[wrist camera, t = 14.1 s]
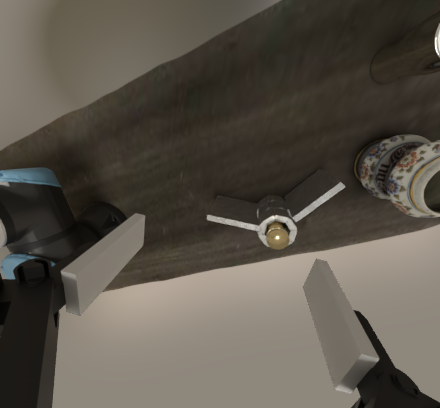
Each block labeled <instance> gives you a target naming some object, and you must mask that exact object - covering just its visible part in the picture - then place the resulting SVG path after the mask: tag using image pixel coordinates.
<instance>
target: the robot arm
mask: <svg viewBox="0 0 440 408" xmlns="http://www.w3.org/2000/svg"><path fill="white" fill-rule="evenodd" d="M61 188H62V186H61V185H60V184H59V182H58V180H57V178H56V176H55V174H54V173H53V171H51V170H50V169H47V168H24V169H11V170H2V171H0V248H2V247H4V246H7V248H8V249H9V251H10V253H11V254H10V255H8V256H6V257H5V258H4V259H3V260H2V262H1V271H2V273H3V275H4V276H5V277H6V278H7V279H2V277H1V274H0V408H52V400H53V388H54V376H55V364H56V352H57V338H58V327H59V310H60V309H61V308H62V307H63V306H64V305H65V304H66V311H67V312H69V313H72V314H76V315H79V316H81V314H82V313H83V312H84V311H85V310H86V309H87V308H88V307H89V305H90V304H91V303H92V302H93V301H94V300H95V299H96V298H97V297H98V295H99V294H100V293H101V292H102V291H103V290H104V289H105V288H106V286H107V285H108V284H109V283H110V282H111V281H112V280H113V279H114V277H115V276H116V275H117V274H118V273H119V272H120V271H121V270H122V269H123V267H124V266H125V265H126V264H127V263H128V262H129V261H130V260H131V258H132V257H133V256H134V255H135V254H136V253H137V252H138V251H139V250H140V248H141V247H142V246H143V243H144V226H145V215H141V214H137V213H135V214H134V215H133V216H131V217H130V218H129V219H126V217H125V216H124V215H123V213H122V212H121V211H120V210H118V209H117V208H116V207H114V206H112V205H110V204H107V203H102V202H97V203H93V204H90V205H88V206H86V207H85V208H83V209H82V210H81V211H80V212H79V214H78V216H76V217H75V218H74V216H73V214H72V212H71V209H70V207H69V205H68V203H67V200H66V198H65V196H64V193H63V191H62V189H61ZM303 289H304V292H305V295H306V299H307V302H308V305H309V308H310V311H311V315H312V318H313V321H314V324H315V328H316V330H317V334H318V337H319V340H320V343H321V347H322V350H323V353H324V356H325V359H326V363H327V366H328V369H329V372H330V375H331V379H332V382H333V385H334V388H335V390H339V391H342V392H346V393H349V394H351V393H352V392H353V391H354V389H355V388H356V387H357V388H358V391H359V393H360V396H361V397H360V398H359V400H358V401H357V402H356V403H355V404H354V405H353V406H352V407H351V408H440V403H439V402H438V401H436V400H434V399H432V398H430V397H429V396H427V395H425V394H423V393H422V392H420V390H419V389H418V387H417V386H416V384H415V383H414V382H413V381H412V380H411V379H410V378H409V377H408V376H407V375H406V374H405V373H403V372H402V371H400V370H399V369H396V368H395V366H394V365H393V363H392V361H391V359H390V358H389V356H388V354H387V353H386V351H385V349H384V348H383V346H382V344H381V342H380V341H379V339H377V336H376V334H375V332H374V331H373V329H372V327H371V326H370V324H369V322H368V320H367V319H366V318H365V317H364V316H363V315H362V314H361V313H360V312H359V311H355V310H353V309H352V307H351V305H350V303H349V301H348V300H347V298H346V296H345V294H344V292H343V290H342V288H341V287H340V285H339V283H338V281H337V279H336V277H335V276H334V274H333V272H332V270H331V268H330V266H329V265H328V263H327V261H323V260H319V259H316V260H315V262H314V265H313V267H312V269H311V271H310V273H309V275H308V277H307V279H306V281H305V283H304V286H303Z"/></svg>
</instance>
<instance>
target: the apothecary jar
mask: <svg viewBox="0 0 440 408" xmlns="http://www.w3.org/2000/svg"><path fill="white" fill-rule="evenodd" d="M354 171H355V175H356V177H357V178H358V180H359V181H361V182H362V184H363V186H364V188H365V189H366V190H367V191H368V192H369V193H370V194H372V195H373V196H375V197H378V198H382V199H388V200H390V201H391V202H392V204H393V205H394V206H395V207H396V208H397V209H398V210H400V211H401V212H403V213H405V214H407V215H410V216H414V217H421V218H432V217H439V216H440V140H437V141H433V142H430V141H429V140H427V139H426V138H424V137H421V136H418V135H413V134H403V135H397V136H393V137H391V138H388V139H381V140H377V141H374V142H372V143H371V144H369V145H367V146H366V147H365V148H364V149H363V150H362V151H361V152H360V153H359V155H358V156H357V158H356V161H355V165H354Z"/></svg>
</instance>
